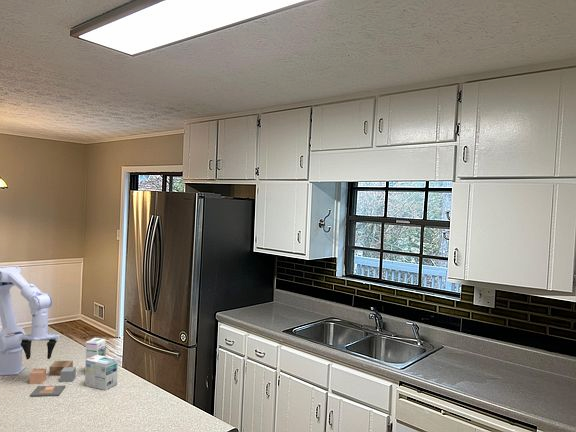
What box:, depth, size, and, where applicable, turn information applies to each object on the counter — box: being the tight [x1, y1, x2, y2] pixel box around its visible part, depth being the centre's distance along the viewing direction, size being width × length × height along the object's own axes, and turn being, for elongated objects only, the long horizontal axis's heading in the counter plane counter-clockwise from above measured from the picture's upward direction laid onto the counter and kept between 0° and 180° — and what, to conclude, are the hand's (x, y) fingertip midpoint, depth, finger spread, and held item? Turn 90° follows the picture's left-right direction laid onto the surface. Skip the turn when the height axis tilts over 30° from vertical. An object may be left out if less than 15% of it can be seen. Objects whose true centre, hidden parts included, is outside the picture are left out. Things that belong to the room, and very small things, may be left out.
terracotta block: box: [29, 368, 47, 385], centre depth 177 cm, size 4×4×4 cm
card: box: [29, 385, 66, 398], centre depth 169 cm, size 10×8×1 cm
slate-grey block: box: [59, 366, 77, 383], centre depth 180 cm, size 4×4×4 cm
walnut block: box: [48, 360, 74, 377], centre depth 187 cm, size 7×7×4 cm
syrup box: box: [85, 337, 107, 360], centre depth 188 cm, size 6×6×14 cm
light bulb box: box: [84, 355, 119, 391], centre depth 177 cm, size 11×7×11 cm, turn 71°
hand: (38, 358), depth 177 cm, fingers open, 7 cm apart
